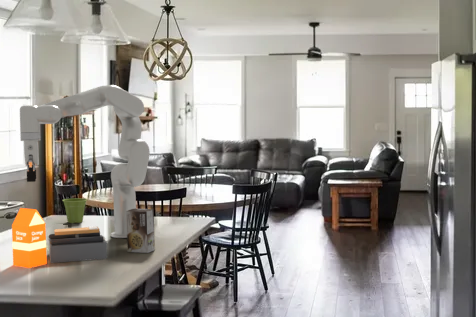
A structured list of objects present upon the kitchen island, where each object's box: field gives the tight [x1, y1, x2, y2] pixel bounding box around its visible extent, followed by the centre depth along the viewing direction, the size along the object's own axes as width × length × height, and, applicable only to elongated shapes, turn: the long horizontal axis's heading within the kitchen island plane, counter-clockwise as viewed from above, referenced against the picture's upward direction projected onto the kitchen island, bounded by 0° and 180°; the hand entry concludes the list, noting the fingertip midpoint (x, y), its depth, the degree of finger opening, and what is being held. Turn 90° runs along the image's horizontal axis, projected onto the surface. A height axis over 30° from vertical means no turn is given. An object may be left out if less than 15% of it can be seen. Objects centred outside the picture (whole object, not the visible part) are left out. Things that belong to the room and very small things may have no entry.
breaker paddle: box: [53, 225, 101, 235], centre depth 245 cm, size 16×6×1 cm, turn 108°
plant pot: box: [62, 198, 88, 224], centre depth 326 cm, size 12×12×11 cm
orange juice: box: [11, 207, 48, 269], centre depth 233 cm, size 8×9×20 cm
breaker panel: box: [48, 234, 108, 264], centre depth 246 cm, size 20×16×9 cm
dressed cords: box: [48, 231, 105, 245], centre depth 245 cm, size 19×14×2 cm
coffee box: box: [126, 208, 156, 254], centre depth 254 cm, size 9×6×16 cm
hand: (31, 180), depth 259 cm, fingers open, 9 cm apart
